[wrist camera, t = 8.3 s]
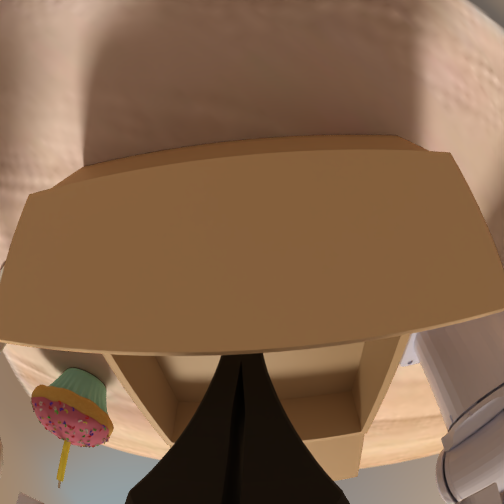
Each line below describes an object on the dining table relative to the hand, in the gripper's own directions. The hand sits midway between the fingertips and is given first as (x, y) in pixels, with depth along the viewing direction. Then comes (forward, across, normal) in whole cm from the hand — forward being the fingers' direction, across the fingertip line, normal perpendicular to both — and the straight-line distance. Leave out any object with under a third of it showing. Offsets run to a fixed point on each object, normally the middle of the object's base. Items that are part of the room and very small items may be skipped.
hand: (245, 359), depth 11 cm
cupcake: (+8, +18, +13) cm, 24 cm away
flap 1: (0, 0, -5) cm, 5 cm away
